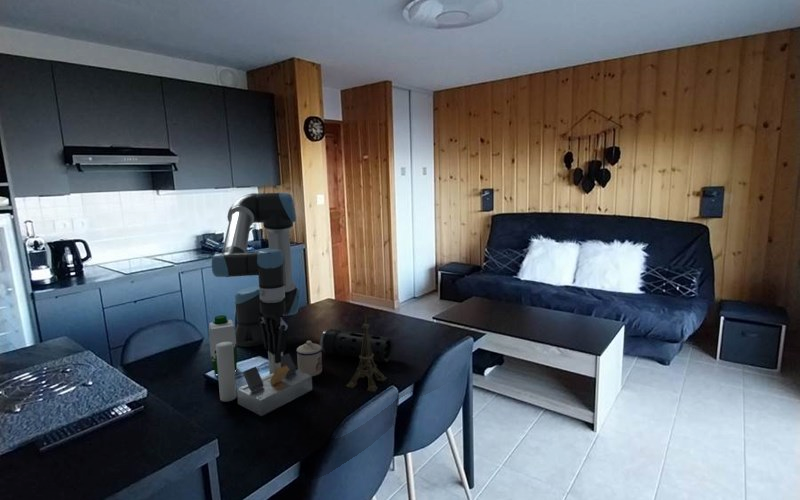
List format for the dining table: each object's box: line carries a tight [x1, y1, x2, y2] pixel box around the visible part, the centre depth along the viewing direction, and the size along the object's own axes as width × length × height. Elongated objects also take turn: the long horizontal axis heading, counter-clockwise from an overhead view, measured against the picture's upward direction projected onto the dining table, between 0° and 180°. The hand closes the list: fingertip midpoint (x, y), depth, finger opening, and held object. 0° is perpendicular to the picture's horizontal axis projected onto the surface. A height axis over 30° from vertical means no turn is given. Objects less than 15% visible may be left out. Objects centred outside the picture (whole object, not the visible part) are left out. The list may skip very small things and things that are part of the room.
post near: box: [216, 342, 237, 402], centre depth 138 cm, size 5×5×18 cm
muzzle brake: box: [319, 328, 394, 364], centre depth 170 cm, size 10×28×10 cm, turn 68°
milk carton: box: [208, 315, 238, 374], centre depth 158 cm, size 9×9×20 cm
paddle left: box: [242, 366, 264, 392], centre depth 135 cm, size 2×4×7 cm
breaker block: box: [236, 369, 313, 417], centre depth 140 cm, size 12×20×5 cm, turn 143°
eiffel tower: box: [345, 312, 388, 393], centre depth 148 cm, size 11×11×25 cm
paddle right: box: [281, 353, 297, 376], centre depth 145 cm, size 2×4×7 cm
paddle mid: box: [270, 365, 289, 385], centre depth 138 cm, size 2×4×7 cm
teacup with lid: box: [295, 340, 323, 377], centre depth 159 cm, size 12×9×12 cm
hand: (276, 371), depth 138 cm, fingers closed
